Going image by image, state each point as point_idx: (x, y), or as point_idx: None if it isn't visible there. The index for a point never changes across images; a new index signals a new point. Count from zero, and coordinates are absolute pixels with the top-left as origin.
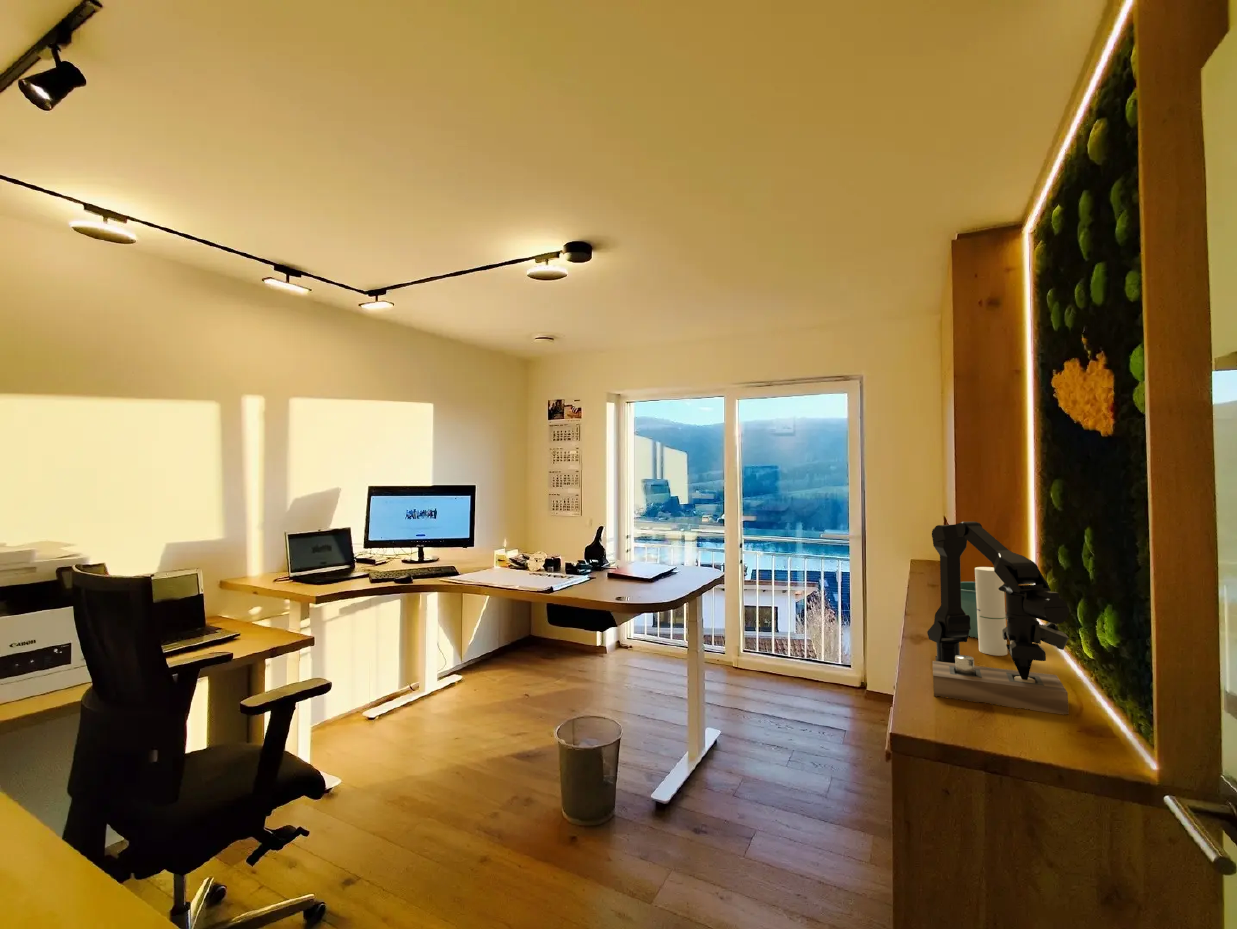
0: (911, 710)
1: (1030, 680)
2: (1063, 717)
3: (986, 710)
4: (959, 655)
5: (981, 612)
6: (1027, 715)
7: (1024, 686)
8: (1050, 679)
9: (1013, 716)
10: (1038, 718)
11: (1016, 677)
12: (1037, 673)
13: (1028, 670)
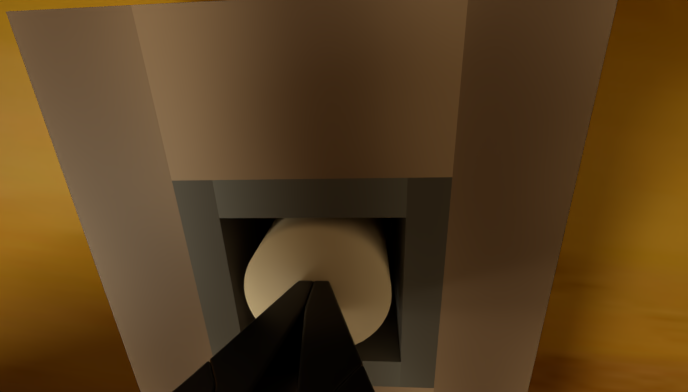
0: None
1: (333, 260)
2: None
3: (557, 378)
4: None
5: None
6: (578, 236)
7: (529, 320)
8: (212, 95)
9: (610, 294)
10: (612, 192)
11: None
12: (84, 182)
13: (355, 346)
